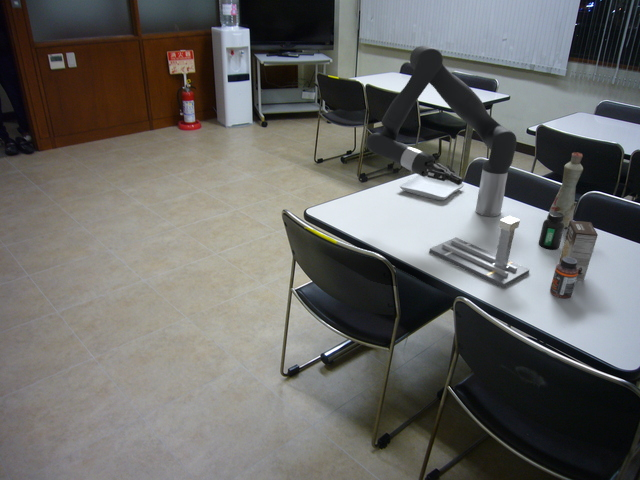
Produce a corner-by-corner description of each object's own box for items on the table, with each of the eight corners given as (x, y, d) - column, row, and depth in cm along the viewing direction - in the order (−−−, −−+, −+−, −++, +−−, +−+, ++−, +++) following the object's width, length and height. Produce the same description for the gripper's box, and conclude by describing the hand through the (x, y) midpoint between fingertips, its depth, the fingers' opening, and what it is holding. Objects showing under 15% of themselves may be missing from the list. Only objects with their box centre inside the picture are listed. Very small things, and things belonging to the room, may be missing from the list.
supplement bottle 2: (545, 288, 156) (554, 254, 151) (565, 287, 156) (574, 254, 151) (555, 299, 150) (564, 265, 145) (575, 298, 151) (585, 264, 146)
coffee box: (557, 264, 169) (568, 219, 162) (578, 267, 168) (591, 221, 160) (562, 279, 161) (575, 232, 153) (585, 281, 160) (599, 234, 152)
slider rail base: (455, 241, 182) (456, 234, 181) (528, 273, 163) (530, 266, 162) (429, 252, 174) (430, 245, 173) (503, 288, 155) (504, 280, 154)
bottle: (564, 231, 191) (584, 157, 179) (541, 223, 197) (558, 151, 185) (575, 225, 197) (595, 153, 184) (552, 217, 203) (570, 147, 190)
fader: (499, 263, 165) (508, 215, 158) (510, 268, 163) (520, 220, 155) (489, 268, 162) (499, 219, 155) (501, 273, 160) (511, 224, 152)
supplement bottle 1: (548, 252, 177) (556, 219, 171) (533, 243, 182) (541, 211, 177) (563, 248, 179) (572, 216, 174) (548, 240, 185) (556, 208, 179)
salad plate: (420, 179, 238) (420, 172, 236) (464, 190, 227) (465, 183, 226) (397, 193, 223) (398, 185, 221) (444, 205, 212) (445, 197, 210)
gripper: (410, 153, 171) (455, 173, 162) (430, 149, 181) (474, 168, 172) (403, 174, 175) (447, 195, 166) (424, 169, 184) (466, 189, 175)
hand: (461, 182), depth 169 cm, fingers closed
